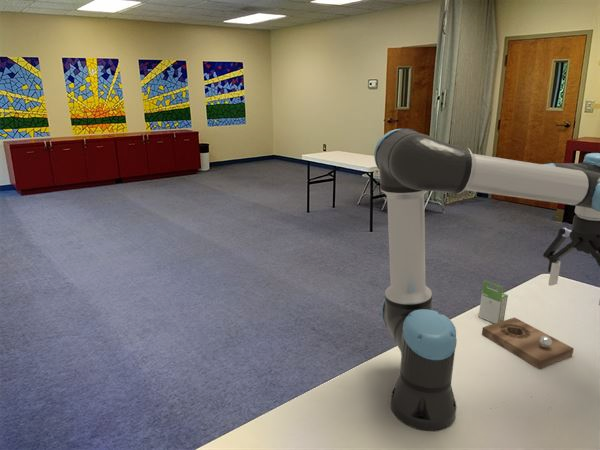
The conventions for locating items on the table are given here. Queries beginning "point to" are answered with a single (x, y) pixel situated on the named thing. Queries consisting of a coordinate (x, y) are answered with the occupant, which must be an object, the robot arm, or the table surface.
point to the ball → (545, 342)
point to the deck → (526, 342)
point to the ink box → (492, 303)
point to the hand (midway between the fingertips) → (576, 294)
